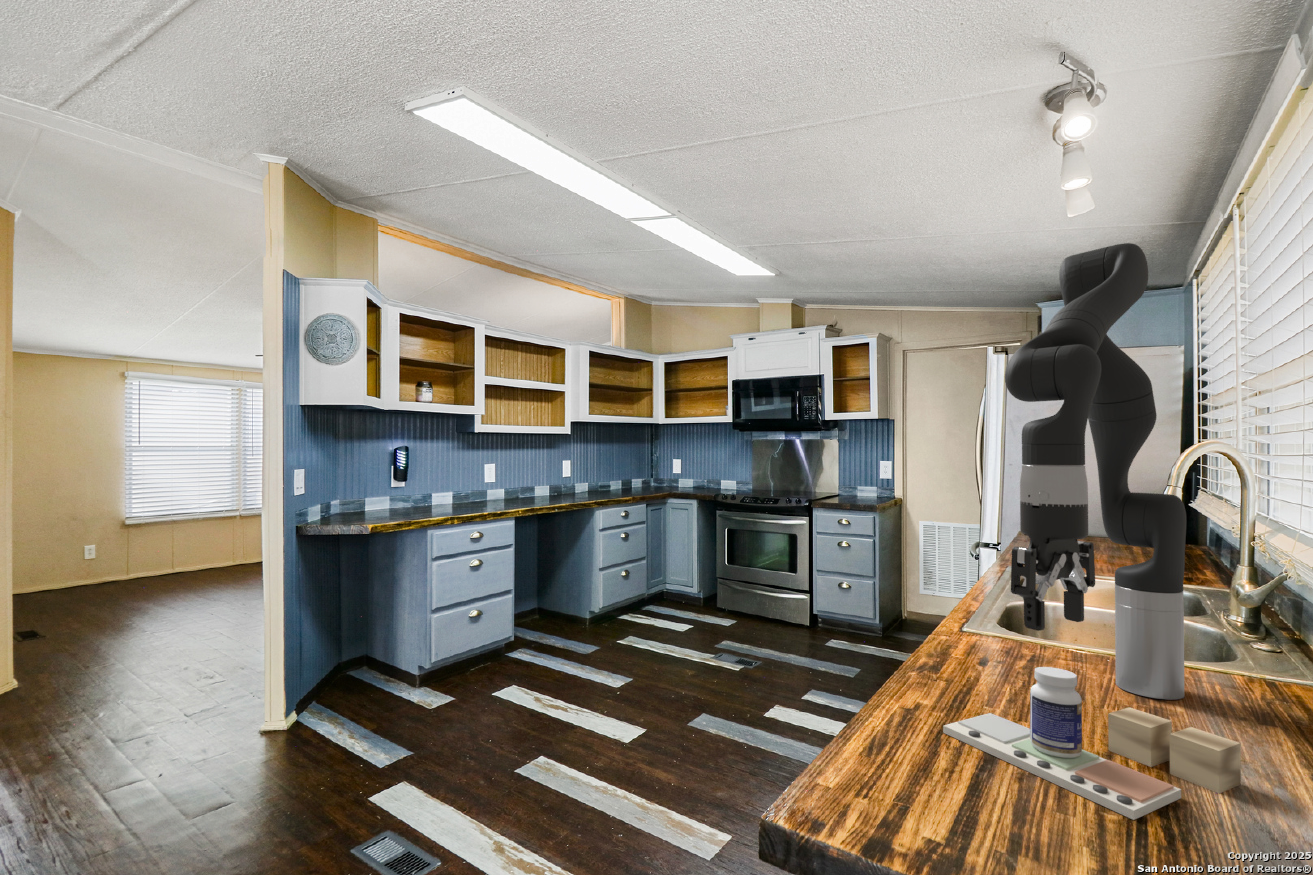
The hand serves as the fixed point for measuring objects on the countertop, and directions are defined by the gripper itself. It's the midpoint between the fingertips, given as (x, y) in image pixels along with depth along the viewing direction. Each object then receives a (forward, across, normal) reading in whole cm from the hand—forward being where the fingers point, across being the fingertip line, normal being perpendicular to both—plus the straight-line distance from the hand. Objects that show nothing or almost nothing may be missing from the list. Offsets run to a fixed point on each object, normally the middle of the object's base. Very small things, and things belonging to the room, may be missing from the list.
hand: (1054, 624), depth 83 cm
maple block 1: (+18, -12, +4) cm, 22 cm away
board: (+17, +1, 0) cm, 17 cm away
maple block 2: (+18, -12, +11) cm, 24 cm away
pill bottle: (+16, 0, 0) cm, 16 cm away
